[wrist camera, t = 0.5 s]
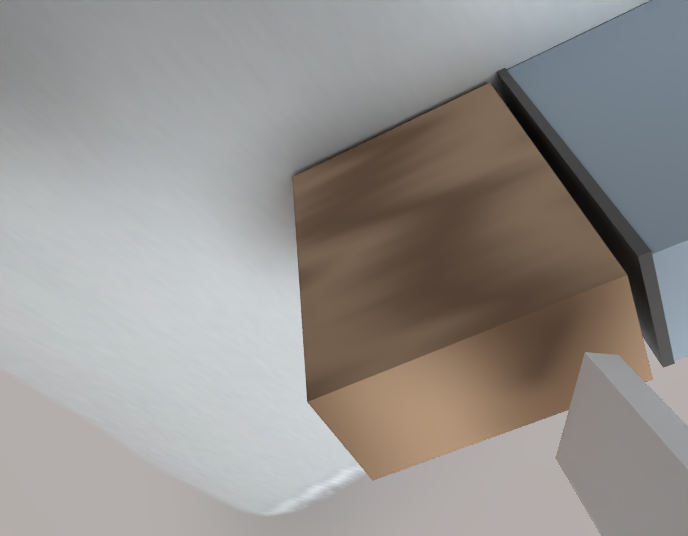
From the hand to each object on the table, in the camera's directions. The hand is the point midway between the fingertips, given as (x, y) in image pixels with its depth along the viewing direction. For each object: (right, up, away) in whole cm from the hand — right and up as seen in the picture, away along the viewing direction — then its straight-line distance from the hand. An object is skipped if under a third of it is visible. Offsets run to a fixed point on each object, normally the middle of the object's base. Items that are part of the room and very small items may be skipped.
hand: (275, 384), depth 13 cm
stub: (+4, +6, +11) cm, 13 cm away
